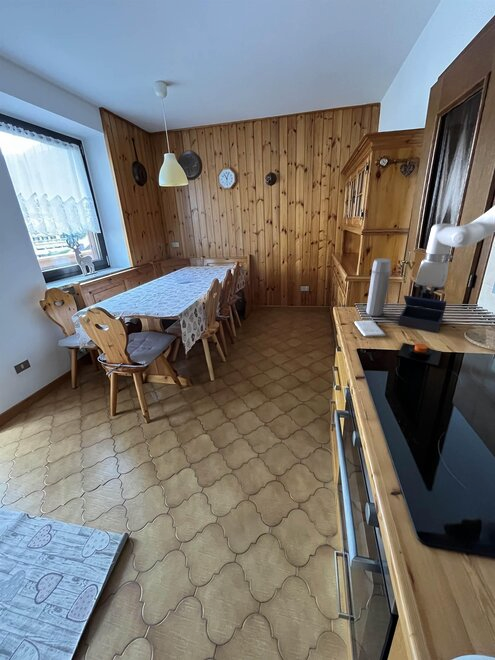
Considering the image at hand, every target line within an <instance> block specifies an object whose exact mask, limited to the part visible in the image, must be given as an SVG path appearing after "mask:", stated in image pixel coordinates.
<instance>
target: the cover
mask: <svg viewBox="0 0 495 660" xmlns="http://www.w3.org/2000/svg"><path fill="white" fill-rule="evenodd" d="M403 299H404V302H405V306H406V305H409V306H415V307H421V308H427V309H433V310H439V311H444V312H446V306H447V303H448V301H446V300H439V299H432V298H431V299H426V298H422V297H419V296H412V295H403Z"/></svg>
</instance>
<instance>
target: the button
mask: <svg viewBox="0 0 495 660" xmlns="http://www.w3.org/2000/svg"><path fill="white" fill-rule="evenodd" d="M414 345H415V351H417V352H421V353H425V352H426V351H427V348H429V347H428V345H427V344H425V343H415V344H414Z"/></svg>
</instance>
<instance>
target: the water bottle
mask: <svg viewBox="0 0 495 660" xmlns="http://www.w3.org/2000/svg"><path fill="white" fill-rule="evenodd" d="M391 266H392V260H391V259H390V258H375V259H374V260H373V263H372V268H371V275H370V276H371V277H370V283H369V289H368V297H367V302H366V303H367V304H366V310H365V311H366V314H367V315H369V316H371V317H372V316H373V317H380V316H382V315H383V313H384V309H385V308H387V305H388V301H389V289H390V278H391V275H392V274H393V272H392V271H391V269H392V267H391Z"/></svg>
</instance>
